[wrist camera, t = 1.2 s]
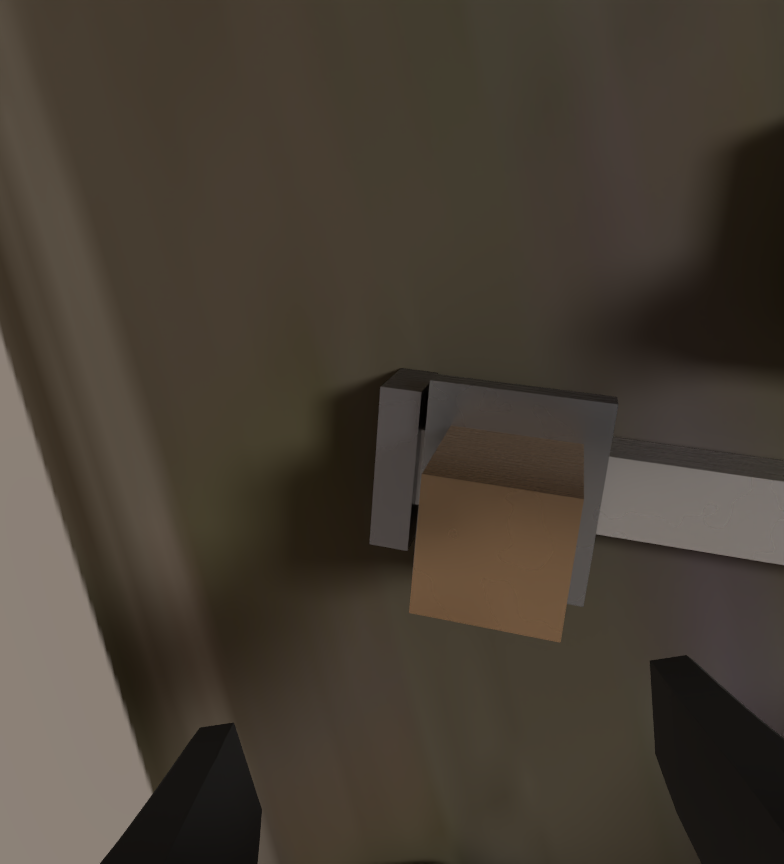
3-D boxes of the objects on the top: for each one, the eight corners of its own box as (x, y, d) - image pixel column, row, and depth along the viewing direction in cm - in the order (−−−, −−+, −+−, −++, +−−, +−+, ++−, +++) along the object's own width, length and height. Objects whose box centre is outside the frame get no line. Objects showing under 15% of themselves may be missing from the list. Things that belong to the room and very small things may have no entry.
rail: (1051, 450, 20) (1116, 484, 18) (991, 612, 21) (1043, 664, 19) (401, 368, 24) (380, 386, 21) (389, 511, 25) (369, 544, 23)
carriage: (614, 380, 22) (626, 452, 16) (583, 562, 24) (583, 692, 17) (447, 360, 23) (396, 419, 17) (430, 536, 25) (377, 649, 18)
